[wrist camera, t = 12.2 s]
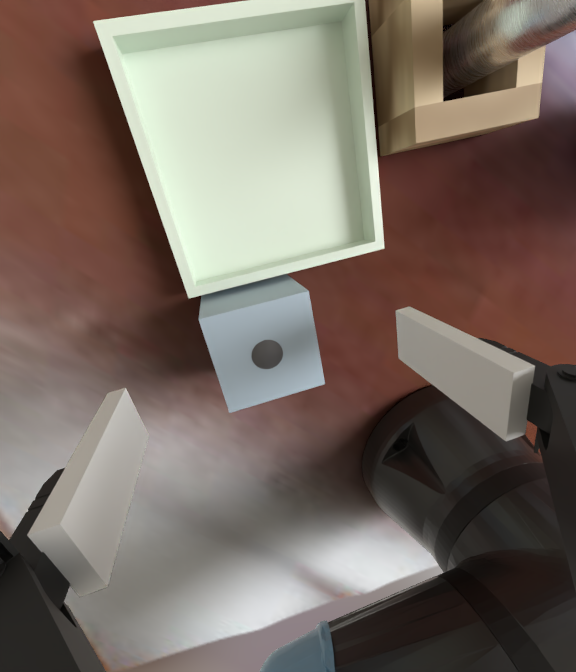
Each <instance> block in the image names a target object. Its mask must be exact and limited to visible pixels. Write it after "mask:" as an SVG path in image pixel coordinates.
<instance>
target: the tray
mask: <svg viewBox="0 0 576 672" xmlns="http://www.w3.org/2000/svg"><path fill="white" fill-rule="evenodd" d="M93 22H94V25H95V28H96V31H97V34H98V37H99V40H100V43H101V46H102V49H103V51H104V54H105V57H106V60H107V63H108V66H109V69H110V72H111V75H112V78H113V80H114V83H115V86H116V89H117V92H118V95H119V98H120V101H121V104H122V107H123V109H124V112H125V115H126V118H127V121H128V124H129V127H130V130H131V133H132V136H133V138H134V141H135V144H136V147H137V150H138V153H139V156H140V159H141V162H142V165H143V167H144V170H145V173H146V176H147V179H148V182H149V185H150V188H151V191H152V194H153V196H154V199H155V202H156V205H157V208H158V211H159V214H160V217H161V220H162V223H163V225H164V228H165V231H166V234H167V237H168V240H169V243H170V246H171V249H172V252H173V254H174V257H175V260H176V263H177V266H178V269H179V272H180V275H181V278H182V281H183V283H184V286H185V289H186V292H187V295H188V298H193V297H197V296H201V295H205V294H209V293H213V292H217V291H220V290H224V289H228V288H232V287H236V286H240V285H244V284H248V283H252V282H256V281H260V280H263V279H267V278H271V277H275V276H279V275H283V274H287V273H291V272H295V271H299V270H303V269H306V268H310V267H314V266H318V265H322V264H326V263H330V262H334V261H338V260H342V259H346V258H349V257H353V256H357V255H361V254H365V253H369V252H373V251H377V250H381V249H385V248H384V235H383V223H382V210H381V197H380V185H379V172H378V159H377V147H376V134H375V121H374V109H373V96H372V83H371V71H370V58H369V45H368V33H367V20H366V7H365V0H248V1H240V2H233V3H225V4H218V5H210V6H203V7H195V8H188V9H180V10H173V11H165V12H158V13H150V14H143V15H135V16H128V17H120V18H113V19H105V20H98V21H93Z"/></svg>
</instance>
